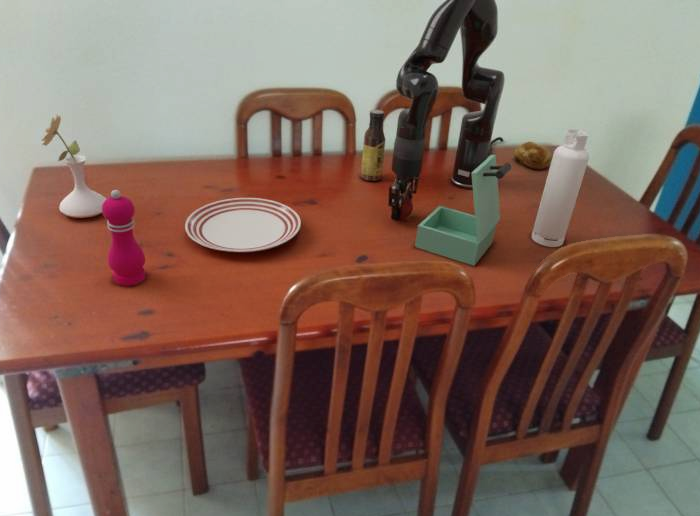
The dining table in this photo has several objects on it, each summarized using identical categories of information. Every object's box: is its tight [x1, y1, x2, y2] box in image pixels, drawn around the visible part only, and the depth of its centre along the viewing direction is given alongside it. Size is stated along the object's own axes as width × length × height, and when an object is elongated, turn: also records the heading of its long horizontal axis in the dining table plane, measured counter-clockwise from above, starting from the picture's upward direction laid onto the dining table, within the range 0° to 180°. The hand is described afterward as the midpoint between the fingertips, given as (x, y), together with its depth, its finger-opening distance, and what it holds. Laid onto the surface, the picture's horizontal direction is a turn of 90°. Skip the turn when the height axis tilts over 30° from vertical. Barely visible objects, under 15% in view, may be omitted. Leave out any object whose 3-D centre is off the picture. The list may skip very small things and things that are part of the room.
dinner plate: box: [184, 197, 302, 253], centre depth 145 cm, size 27×27×3 cm
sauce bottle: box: [360, 109, 386, 182], centre depth 174 cm, size 7×6×20 cm
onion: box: [389, 193, 414, 221], centre depth 156 cm, size 6×6×8 cm
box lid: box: [472, 154, 512, 241], centre depth 137 cm, size 16×14×6 cm
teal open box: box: [414, 205, 498, 267], centre depth 147 cm, size 15×14×6 cm
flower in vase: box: [41, 114, 107, 219], centre depth 142 cm, size 13×11×25 cm
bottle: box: [530, 128, 590, 248], centre depth 147 cm, size 8×8×28 cm
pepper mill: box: [101, 189, 146, 287], centre depth 121 cm, size 7×7×20 cm
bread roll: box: [513, 141, 552, 170], centre depth 197 cm, size 13×10×8 cm
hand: (400, 214), depth 157 cm, fingers closed on onion, 6 cm apart
